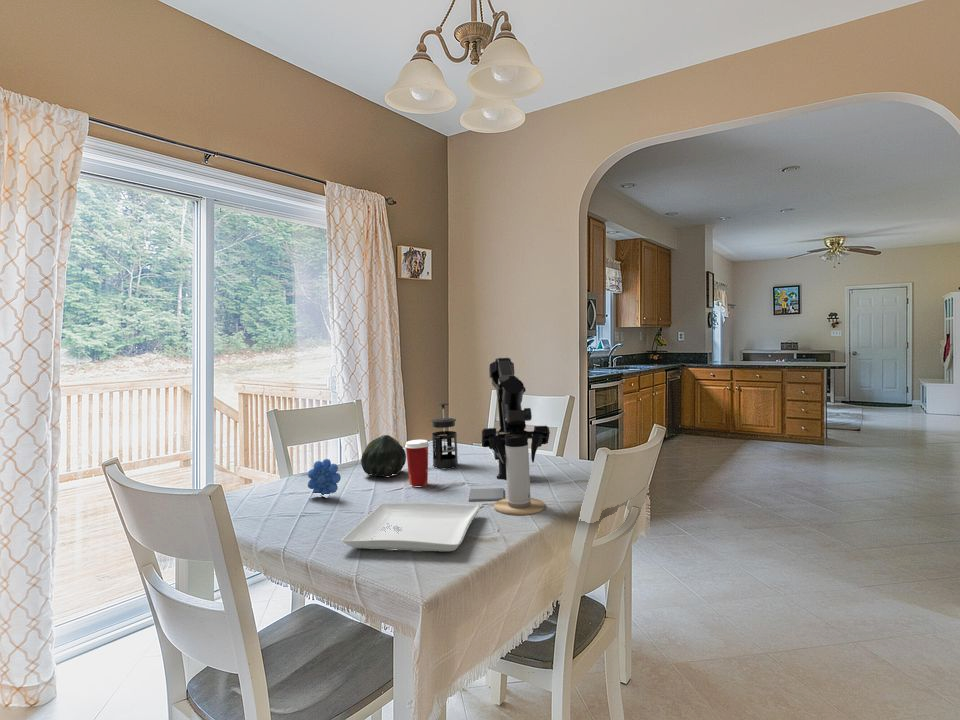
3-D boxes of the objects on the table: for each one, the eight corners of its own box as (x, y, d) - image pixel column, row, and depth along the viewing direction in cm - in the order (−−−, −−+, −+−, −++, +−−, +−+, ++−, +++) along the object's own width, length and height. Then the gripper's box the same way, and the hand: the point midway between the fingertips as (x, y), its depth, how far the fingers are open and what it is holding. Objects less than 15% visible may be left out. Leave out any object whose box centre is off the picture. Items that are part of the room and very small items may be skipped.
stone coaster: (470, 490, 162) (470, 488, 162) (503, 489, 161) (503, 488, 161) (468, 501, 152) (468, 499, 152) (503, 500, 151) (503, 498, 151)
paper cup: (435, 484, 170) (433, 440, 170) (417, 489, 165) (415, 445, 164) (419, 480, 176) (417, 438, 175) (401, 485, 170) (399, 442, 170)
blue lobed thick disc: (349, 495, 162) (347, 456, 161) (336, 502, 156) (334, 461, 155) (318, 492, 166) (316, 454, 165) (303, 499, 160) (301, 459, 159)
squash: (367, 453, 194) (361, 428, 183) (408, 453, 194) (405, 427, 184) (362, 487, 184) (356, 462, 173) (405, 487, 184) (402, 462, 174)
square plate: (460, 561, 113) (459, 543, 113) (339, 556, 118) (338, 539, 117) (481, 516, 140) (481, 502, 139) (382, 514, 144) (381, 500, 144)
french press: (439, 461, 200) (437, 401, 199) (462, 462, 197) (460, 401, 196) (426, 469, 189) (423, 405, 188) (450, 471, 186) (448, 405, 185)
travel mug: (536, 505, 144) (533, 432, 143) (515, 510, 141) (512, 435, 140) (523, 499, 150) (520, 428, 149) (503, 503, 147) (500, 432, 146)
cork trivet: (498, 497, 154) (498, 496, 154) (547, 499, 151) (547, 497, 151) (489, 514, 140) (489, 512, 140) (542, 516, 137) (542, 514, 137)
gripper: (480, 399, 147) (484, 447, 137) (547, 396, 148) (556, 444, 138) (480, 423, 156) (483, 470, 145) (543, 420, 157) (551, 466, 146)
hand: (518, 462), depth 143 cm, fingers open, 8 cm apart
